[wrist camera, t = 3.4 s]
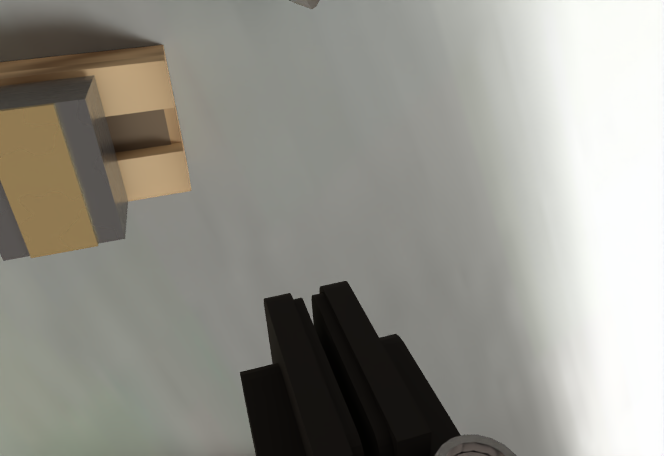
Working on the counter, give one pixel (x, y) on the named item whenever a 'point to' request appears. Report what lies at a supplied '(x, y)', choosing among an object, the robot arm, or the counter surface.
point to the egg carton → (306, 3)
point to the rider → (57, 170)
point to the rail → (125, 111)
